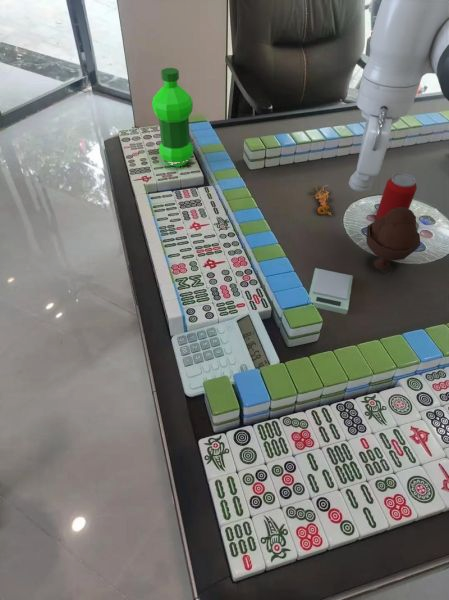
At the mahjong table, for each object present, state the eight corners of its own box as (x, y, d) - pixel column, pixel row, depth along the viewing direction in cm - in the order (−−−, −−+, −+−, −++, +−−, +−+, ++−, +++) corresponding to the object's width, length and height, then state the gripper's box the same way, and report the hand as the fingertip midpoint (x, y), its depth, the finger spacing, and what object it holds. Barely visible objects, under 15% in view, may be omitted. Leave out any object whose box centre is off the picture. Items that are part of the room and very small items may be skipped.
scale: (350, 283, 93) (353, 273, 90) (345, 318, 86) (348, 307, 84) (313, 276, 94) (315, 265, 92) (305, 309, 88) (308, 298, 85)
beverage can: (404, 217, 108) (421, 175, 100) (400, 232, 104) (417, 190, 95) (377, 210, 110) (391, 168, 101) (372, 225, 106) (386, 182, 97)
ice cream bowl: (349, 253, 99) (366, 198, 88) (397, 251, 100) (419, 196, 89) (362, 286, 92) (382, 231, 81) (413, 283, 93) (440, 228, 82)
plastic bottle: (152, 162, 125) (140, 70, 107) (180, 149, 130) (174, 60, 112) (173, 176, 120) (164, 82, 102) (202, 163, 125) (199, 71, 107)
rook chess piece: (353, 177, 84) (364, 138, 78) (375, 184, 82) (387, 145, 76) (344, 187, 81) (354, 148, 75) (366, 195, 80) (378, 156, 74)
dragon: (314, 217, 108) (317, 205, 105) (310, 191, 116) (312, 179, 113) (332, 218, 108) (335, 205, 105) (326, 192, 116) (329, 180, 113)
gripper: (404, 127, 62) (378, 206, 72) (407, 74, 75) (385, 148, 85) (360, 120, 63) (340, 200, 73) (371, 70, 76) (353, 143, 87)
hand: (364, 171), depth 80 cm, fingers closed on rook chess piece, 3 cm apart
